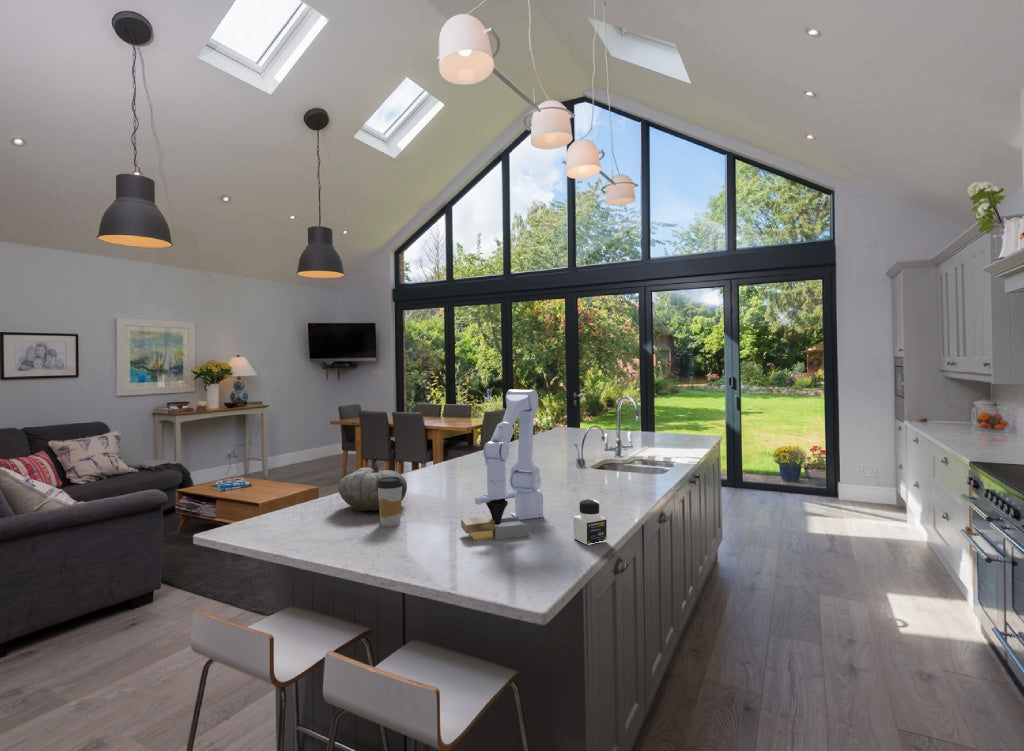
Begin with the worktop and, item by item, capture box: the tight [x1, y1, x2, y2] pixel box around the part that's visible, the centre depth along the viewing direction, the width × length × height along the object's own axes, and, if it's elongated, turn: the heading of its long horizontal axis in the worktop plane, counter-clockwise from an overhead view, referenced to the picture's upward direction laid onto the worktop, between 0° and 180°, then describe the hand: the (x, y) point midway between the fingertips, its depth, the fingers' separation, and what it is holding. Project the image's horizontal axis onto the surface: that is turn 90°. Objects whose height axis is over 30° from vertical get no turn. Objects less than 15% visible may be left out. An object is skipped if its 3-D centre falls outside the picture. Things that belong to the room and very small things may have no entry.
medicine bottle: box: [573, 498, 608, 544], centre depth 163 cm, size 7×7×12 cm
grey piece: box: [493, 516, 530, 540], centre depth 171 cm, size 10×9×4 cm
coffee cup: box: [377, 477, 403, 528], centre depth 182 cm, size 8×8×15 cm
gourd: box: [337, 462, 408, 512], centre depth 204 cm, size 25×25×17 cm
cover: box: [460, 515, 495, 534], centre depth 169 cm, size 9×7×2 cm
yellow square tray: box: [468, 530, 494, 541], centre depth 168 cm, size 6×6×2 cm
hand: (496, 524), depth 170 cm, fingers closed
